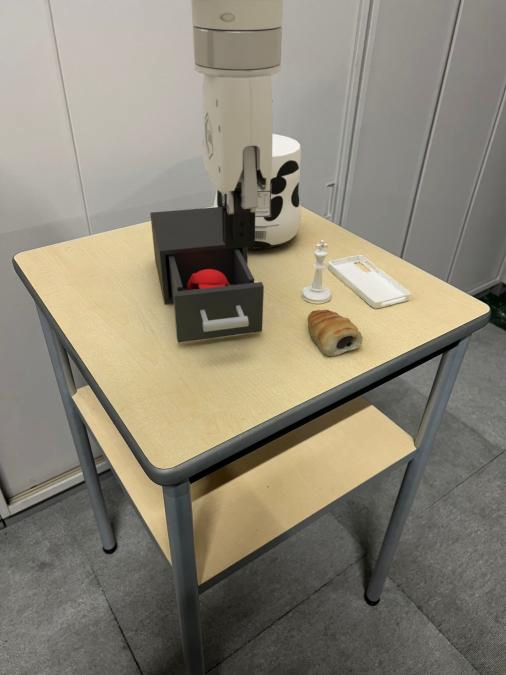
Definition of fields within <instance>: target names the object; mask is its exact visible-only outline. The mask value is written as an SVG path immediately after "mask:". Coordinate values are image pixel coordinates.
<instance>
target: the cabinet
mask: <svg viewBox="0 0 506 675" xmlns="http://www.w3.org/2000/svg"><path fill="white" fill-rule="evenodd" d="M226 207H227V206H226ZM150 222H151V223H150V224H151V234H152V242H153V244H152V245H153V254H154V263H155V268H156V271H157V276H158V281H159V285H160V291H161V295H162V299H163V304H164V305H174V303H173V299H172V294H171V288H170V276H169V265H168V255H170V254H180V253H191V252H201V251H211V250H221V249H232V248H226V246H225V243H224V242H223V239H222V207H214V208H213V207H203V208H202V207H201V208H191V209H178V210H177V209H176V210H165V211H153V212H152V211H151V212H150ZM238 248H239V250H240V252H241V254H242V256H243V258H244V260H245V262H246V264H247V265H248V256H249V255H248V254H249V253H248V249H249V248H248V246H247V247H238Z"/></svg>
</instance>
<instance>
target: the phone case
mask: <svg viewBox="0 0 506 675" xmlns="http://www.w3.org/2000/svg"><path fill="white" fill-rule="evenodd" d="M359 263H360V264H361V265H362V266H364V267H365V268H366V269H367V270H369V271H364V270H363V269H362V268H361V267H359V266H358V265H357V264H359ZM327 269H328V271H330V273H332V274H333V275H335V276H336V277H337V278H338V279H339V280H340V281H341V282H342V283H343V284H344V285H346V286H347V287H348V288H349V289H350V290H351V291H353V292H354V293H355V294H356V295H357V296H358V297H359V298H361V299H362V300H363V301H364V302H365V303H366V304H368V305H369V306H370V307H371V308H373V309H380V308H384V307H389V306H392V305H398V304H402V303H404V302H409V301H410V299H411V294H412V293H411V291H410V290H409V289H408V288H406V287H404V285H402V284H401V283H399V282H398V281H397V280H396V279H394V278H393V277H392V276H391V275H389V274H387V273H386V272H385V271H384V270H383V269H381V268H380V267H378V265H376V264H375V263H373V262H372V261H371V260H370V259H368V258H367V257H365V255H362V254H356V255H351V256H346V257H342V258H341V257H340V258H337V259H332V260H328V262H327Z"/></svg>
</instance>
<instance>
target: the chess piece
mask: <svg viewBox="0 0 506 675" xmlns="http://www.w3.org/2000/svg"><path fill="white" fill-rule="evenodd" d="M315 248H316V250H314V257H315V261H316V262H314V263H313V264H312V268H313V269H314V270H315V272H314V276H313V281H312V283H311V284H309V285H306V286H304V287H303V288H302V290H301V294H300V295H301V299H303V300H304V301H306V302H308V303H310V304H315V305H316V304H317V305H320V304H326V303H328V302H329V301H330V300H331V299H332V292H331V290H330V289H329V288H328V287H326V286H325V285H324V284H323V271H324V270H326V269H327V265H326V263H325V260H326V258H327V256H328V252H327V250H325V249H324V248H328V243H325V240H323V239H322V240H321V239H320V243H318V244H317V243H316V244H315Z"/></svg>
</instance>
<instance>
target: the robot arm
mask: <svg viewBox="0 0 506 675" xmlns="http://www.w3.org/2000/svg"><path fill="white" fill-rule="evenodd" d="M190 1H191V2H190V4H191V22H192V41H193V59H194V60H193V61H194V71H195V72H197V73H199V74H200V73H201V74H202V161H203V162H202V163H203V165H204V169H205V170H206V173H207V175H208V176H209V178H210V180H211V182H212V183H213V185H214V186H215V189H216V190H217V189H218V191H220V192H221V193H222V203H223V206H227V207H222V239H223V242H224V243H225V246H226V248H238V247H247V246H253V245H254V244H255V210H256V208H257V207H258V196H257V185H258V186H259V187H260V189H261V190H263V191H264V190H266V189H267V188H268V187H269V185H270V181H271V170H272V134H273V93H272V92H273V91H272V90H273V89H272V75H274V74H278V73H280V71H281V61H282V60H281V59H282V35H283V34H282V33H283V27H282V26H283V8H284V0H190Z"/></svg>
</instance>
